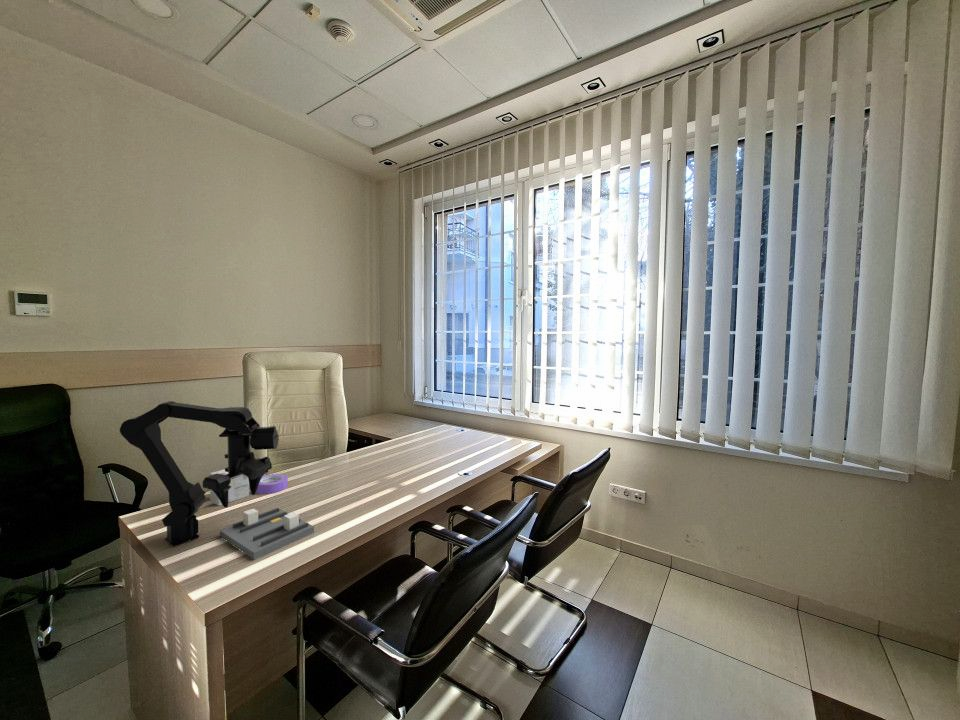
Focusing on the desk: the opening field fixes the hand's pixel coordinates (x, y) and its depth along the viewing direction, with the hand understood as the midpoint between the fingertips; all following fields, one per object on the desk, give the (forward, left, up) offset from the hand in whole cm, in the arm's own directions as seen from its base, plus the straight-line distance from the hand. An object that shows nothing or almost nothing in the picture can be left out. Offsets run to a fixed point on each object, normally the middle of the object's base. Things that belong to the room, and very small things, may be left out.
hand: (240, 500), depth 115 cm
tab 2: (+9, -12, -8) cm, 17 cm away
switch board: (+5, -6, -11) cm, 13 cm away
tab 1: (+3, 0, -8) cm, 9 cm away
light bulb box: (+10, +29, -11) cm, 32 cm away
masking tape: (+24, +27, -11) cm, 38 cm away
